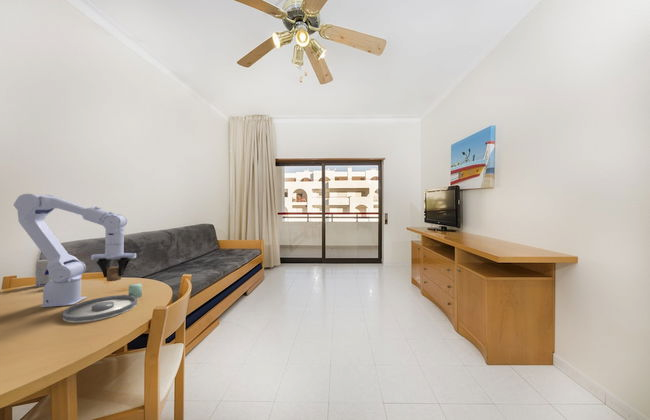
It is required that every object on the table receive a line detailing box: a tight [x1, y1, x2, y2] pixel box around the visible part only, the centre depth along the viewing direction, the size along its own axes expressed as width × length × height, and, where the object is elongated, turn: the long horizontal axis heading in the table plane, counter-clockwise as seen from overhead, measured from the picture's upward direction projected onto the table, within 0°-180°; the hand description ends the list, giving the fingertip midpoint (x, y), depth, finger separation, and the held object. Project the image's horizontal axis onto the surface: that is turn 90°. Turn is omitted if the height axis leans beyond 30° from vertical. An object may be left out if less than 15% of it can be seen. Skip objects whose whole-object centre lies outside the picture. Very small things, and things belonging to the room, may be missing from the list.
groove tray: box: [61, 294, 138, 324], centre depth 85 cm, size 20×20×2 cm
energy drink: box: [35, 258, 52, 288], centre depth 109 cm, size 5×5×12 cm
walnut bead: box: [106, 265, 122, 282], centre depth 95 cm, size 4×4×5 cm
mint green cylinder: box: [128, 283, 143, 299], centre depth 98 cm, size 4×4×5 cm
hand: (113, 276), depth 95 cm, fingers closed on walnut bead, 4 cm apart
